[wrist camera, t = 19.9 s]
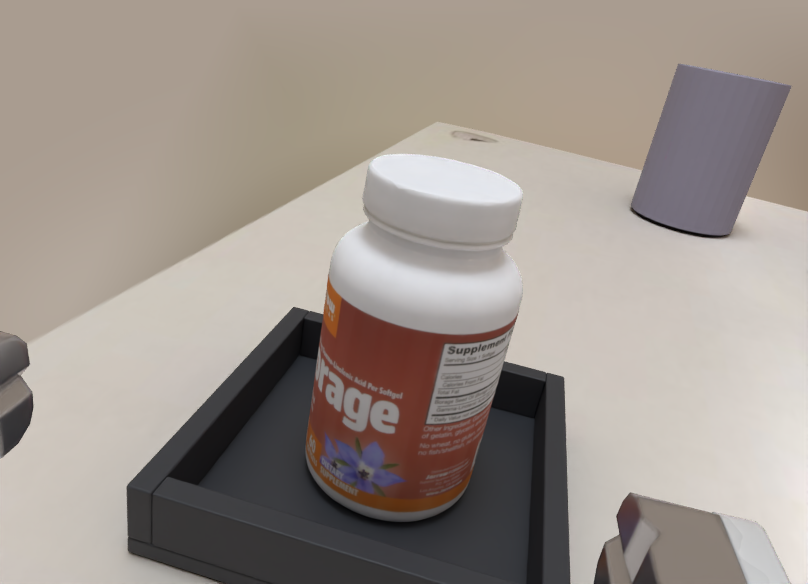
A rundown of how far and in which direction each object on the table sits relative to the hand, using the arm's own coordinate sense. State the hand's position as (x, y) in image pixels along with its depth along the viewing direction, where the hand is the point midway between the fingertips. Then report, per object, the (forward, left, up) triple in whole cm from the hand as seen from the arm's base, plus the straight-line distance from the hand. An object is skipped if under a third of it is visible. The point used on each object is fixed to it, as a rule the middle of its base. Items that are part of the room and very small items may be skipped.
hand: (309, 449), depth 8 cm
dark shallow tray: (0, +12, -11) cm, 16 cm away
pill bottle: (0, +12, -10) cm, 16 cm away
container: (+20, +63, -11) cm, 67 cm away
